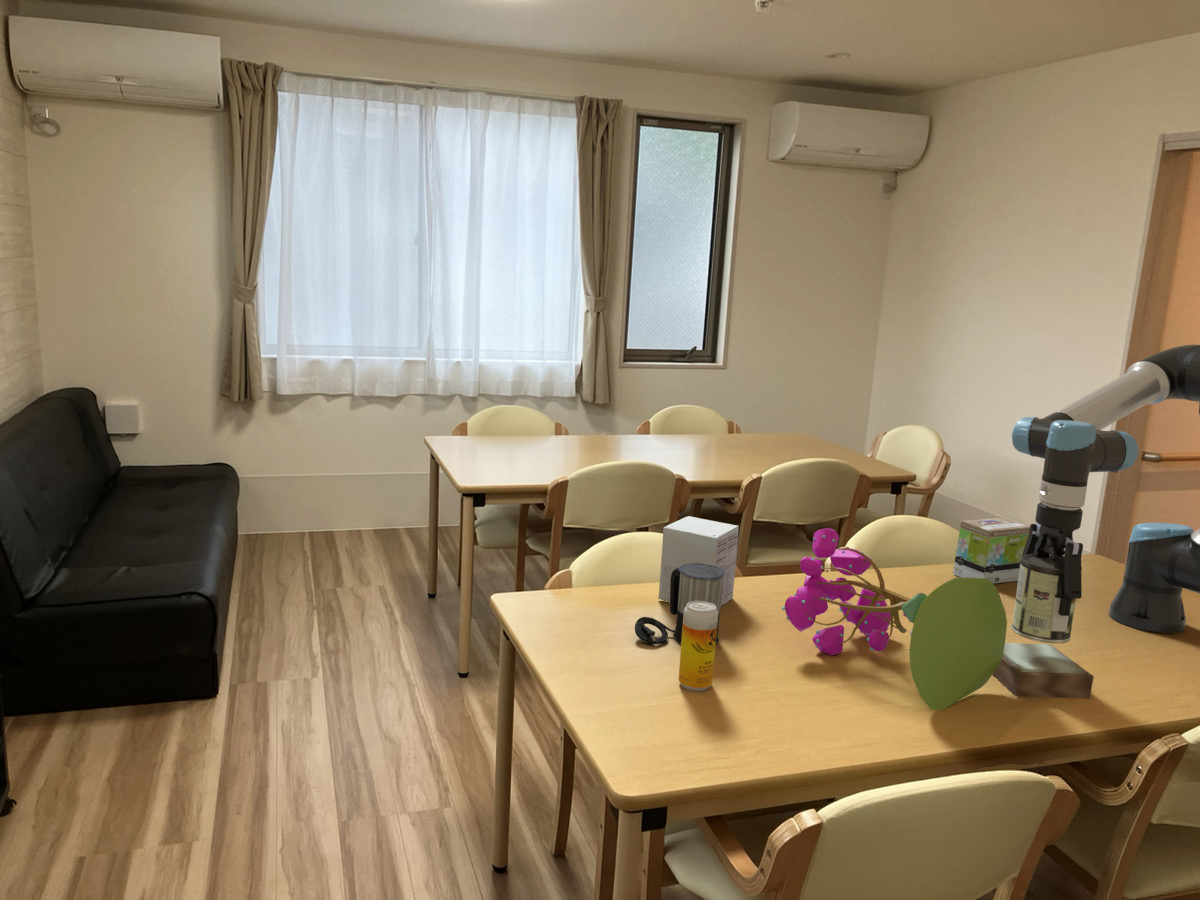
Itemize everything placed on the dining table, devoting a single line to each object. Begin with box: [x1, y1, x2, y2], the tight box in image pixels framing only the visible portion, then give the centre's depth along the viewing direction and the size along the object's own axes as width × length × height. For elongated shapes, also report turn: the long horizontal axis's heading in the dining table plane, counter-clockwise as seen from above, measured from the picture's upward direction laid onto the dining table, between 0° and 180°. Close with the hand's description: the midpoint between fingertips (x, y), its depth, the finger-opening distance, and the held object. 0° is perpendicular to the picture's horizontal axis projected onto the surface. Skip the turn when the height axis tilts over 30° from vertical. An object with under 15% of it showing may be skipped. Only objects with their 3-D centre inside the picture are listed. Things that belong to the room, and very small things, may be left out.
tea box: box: [952, 517, 1030, 585], centre depth 233 cm, size 15×10×15 cm
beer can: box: [678, 601, 718, 692], centre depth 161 cm, size 6×6×15 cm
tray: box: [992, 642, 1095, 700], centre depth 172 cm, size 14×14×5 cm
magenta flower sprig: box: [781, 528, 1008, 711], centre depth 176 cm, size 30×28×35 cm
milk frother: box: [634, 563, 725, 645], centre depth 182 cm, size 14×16×15 cm
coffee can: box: [1010, 554, 1083, 645], centre depth 170 cm, size 10×10×14 cm
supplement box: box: [657, 515, 740, 608], centre depth 205 cm, size 13×13×18 cm
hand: (1042, 619), depth 170 cm, fingers closed on coffee can, 10 cm apart
